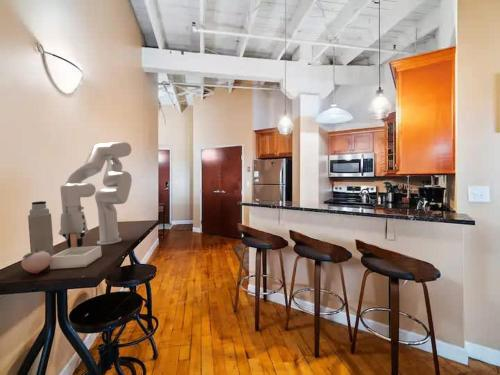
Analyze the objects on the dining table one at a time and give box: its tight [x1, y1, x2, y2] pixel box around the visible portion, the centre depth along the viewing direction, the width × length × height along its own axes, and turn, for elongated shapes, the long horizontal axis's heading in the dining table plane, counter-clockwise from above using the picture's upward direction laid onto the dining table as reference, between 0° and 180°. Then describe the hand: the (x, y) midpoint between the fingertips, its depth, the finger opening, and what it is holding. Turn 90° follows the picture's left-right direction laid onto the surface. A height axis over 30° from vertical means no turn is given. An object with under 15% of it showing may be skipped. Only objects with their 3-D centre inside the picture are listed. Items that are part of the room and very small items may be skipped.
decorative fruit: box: [21, 249, 51, 274], centre depth 105 cm, size 9×8×10 cm
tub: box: [49, 245, 103, 270], centre depth 118 cm, size 15×14×5 cm
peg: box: [70, 233, 78, 248], centre depth 129 cm, size 4×4×10 cm
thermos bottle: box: [27, 201, 55, 267], centre depth 116 cm, size 8×8×28 cm
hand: (75, 246), depth 129 cm, fingers closed on peg, 3 cm apart
